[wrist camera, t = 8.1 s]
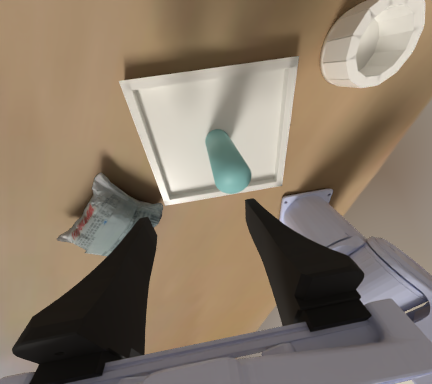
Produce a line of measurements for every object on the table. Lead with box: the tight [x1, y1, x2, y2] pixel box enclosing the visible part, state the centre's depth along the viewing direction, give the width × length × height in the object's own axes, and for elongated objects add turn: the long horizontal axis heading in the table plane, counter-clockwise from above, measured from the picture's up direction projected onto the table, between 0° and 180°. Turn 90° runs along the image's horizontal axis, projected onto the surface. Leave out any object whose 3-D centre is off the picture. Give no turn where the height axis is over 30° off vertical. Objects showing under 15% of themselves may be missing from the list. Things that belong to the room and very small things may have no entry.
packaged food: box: [57, 173, 163, 256], centre depth 22 cm, size 9×12×5 cm
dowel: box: [205, 129, 251, 194], centre depth 16 cm, size 3×3×8 cm
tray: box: [119, 56, 299, 206], centre depth 20 cm, size 14×16×2 cm
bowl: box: [320, 0, 425, 88], centre depth 15 cm, size 6×6×4 cm
